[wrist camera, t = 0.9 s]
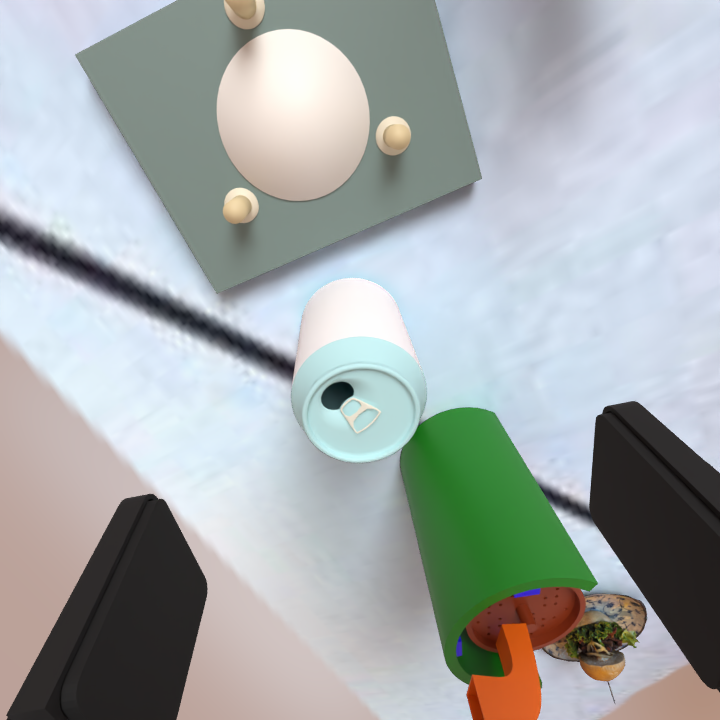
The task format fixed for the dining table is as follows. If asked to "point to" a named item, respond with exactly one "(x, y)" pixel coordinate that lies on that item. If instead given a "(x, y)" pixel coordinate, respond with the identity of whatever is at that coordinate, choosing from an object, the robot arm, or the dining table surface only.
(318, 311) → the can
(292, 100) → the pin board
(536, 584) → the motor
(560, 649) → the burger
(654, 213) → the dining table surface
